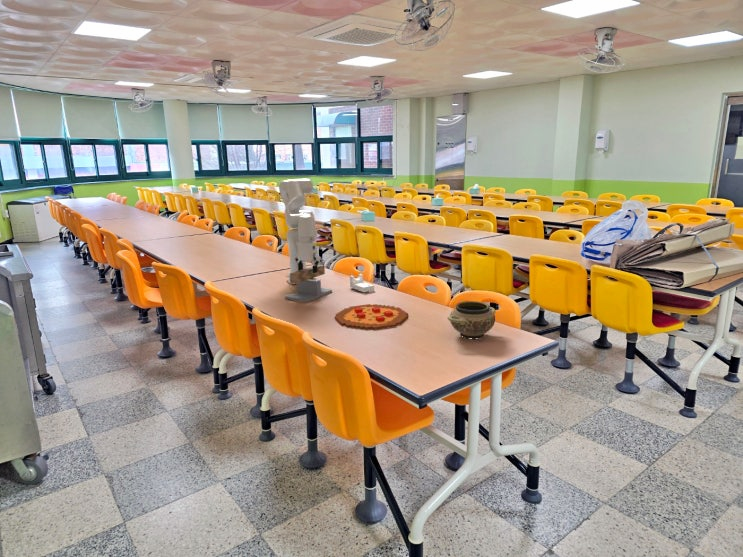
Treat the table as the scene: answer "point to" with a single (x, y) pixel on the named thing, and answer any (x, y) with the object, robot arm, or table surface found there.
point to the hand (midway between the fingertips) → (307, 271)
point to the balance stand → (308, 291)
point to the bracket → (360, 284)
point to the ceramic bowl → (472, 318)
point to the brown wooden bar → (306, 274)
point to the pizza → (371, 316)
